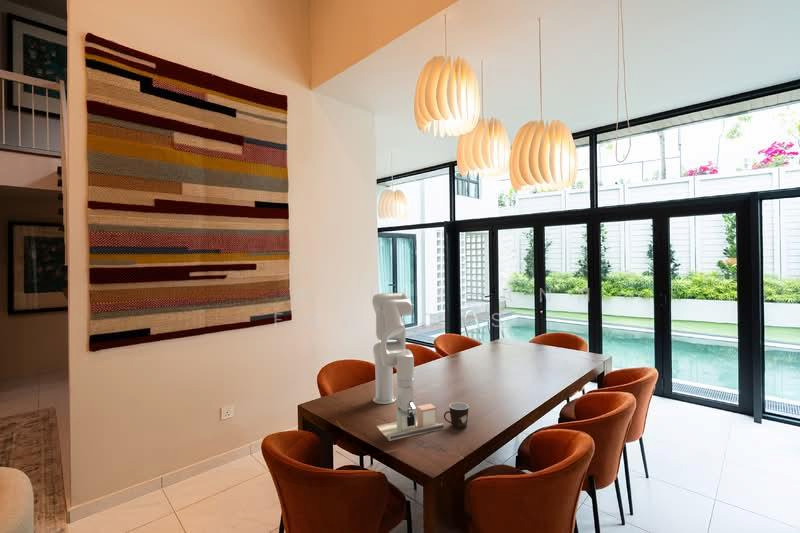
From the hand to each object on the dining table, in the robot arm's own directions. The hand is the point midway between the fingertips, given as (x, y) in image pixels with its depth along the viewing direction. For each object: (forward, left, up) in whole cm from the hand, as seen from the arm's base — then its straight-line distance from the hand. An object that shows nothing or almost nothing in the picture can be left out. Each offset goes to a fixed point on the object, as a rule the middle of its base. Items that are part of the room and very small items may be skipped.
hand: (406, 421), depth 164 cm
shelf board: (-3, +3, -5) cm, 7 cm away
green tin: (0, 0, -4) cm, 4 cm away
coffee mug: (+5, +22, -6) cm, 23 cm away
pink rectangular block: (0, +10, -4) cm, 11 cm away
